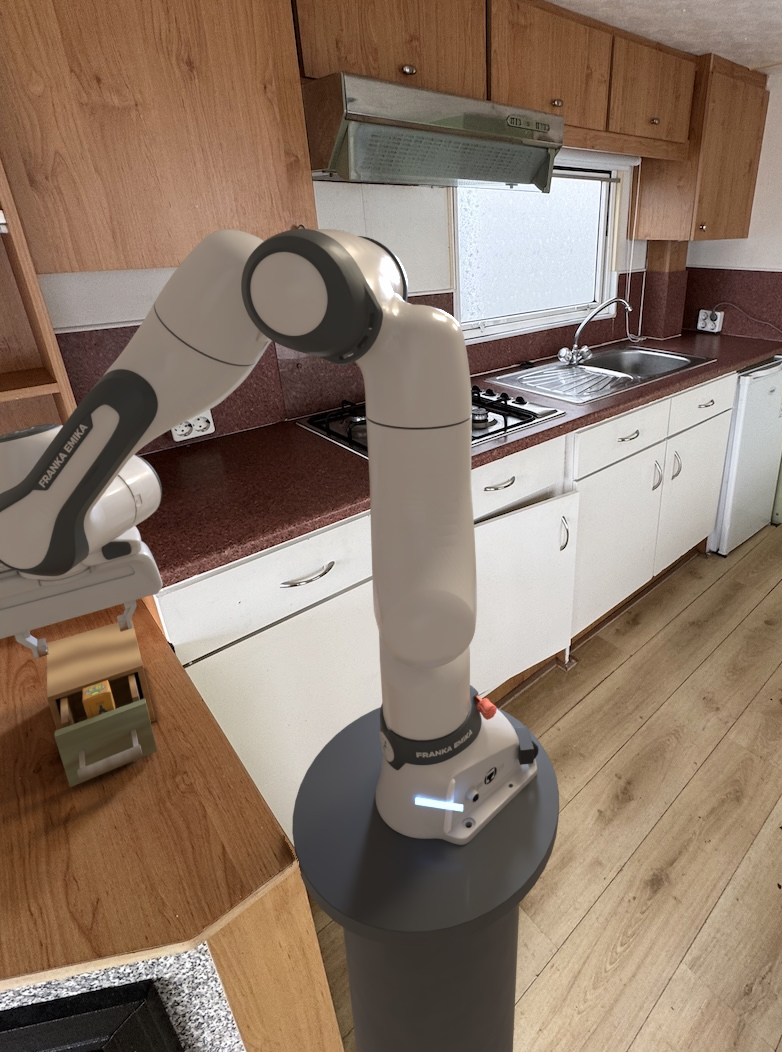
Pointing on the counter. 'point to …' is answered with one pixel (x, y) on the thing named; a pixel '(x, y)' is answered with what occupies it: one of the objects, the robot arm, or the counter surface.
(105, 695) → the supplement box
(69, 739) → the drawer
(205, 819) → the counter surface
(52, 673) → the cabinet
